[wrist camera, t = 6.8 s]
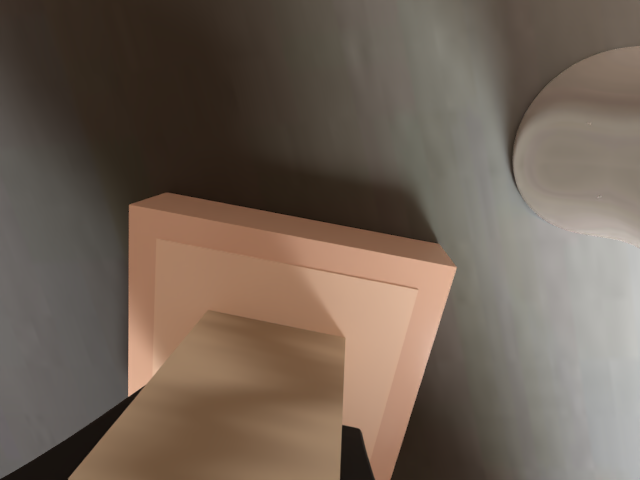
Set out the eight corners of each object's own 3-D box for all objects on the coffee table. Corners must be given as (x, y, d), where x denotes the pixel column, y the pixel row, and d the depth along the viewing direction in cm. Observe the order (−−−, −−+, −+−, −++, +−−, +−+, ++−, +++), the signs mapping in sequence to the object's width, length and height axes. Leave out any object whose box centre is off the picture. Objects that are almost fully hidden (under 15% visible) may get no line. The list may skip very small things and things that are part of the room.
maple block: (345, 337, 12) (337, 539, 6) (321, 445, 14) (295, 695, 8) (208, 309, 13) (67, 479, 6) (198, 419, 14) (77, 642, 8)
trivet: (438, 244, 14) (457, 268, 11) (377, 456, 17) (381, 509, 15) (166, 192, 14) (128, 204, 12) (158, 409, 18) (127, 453, 15)
